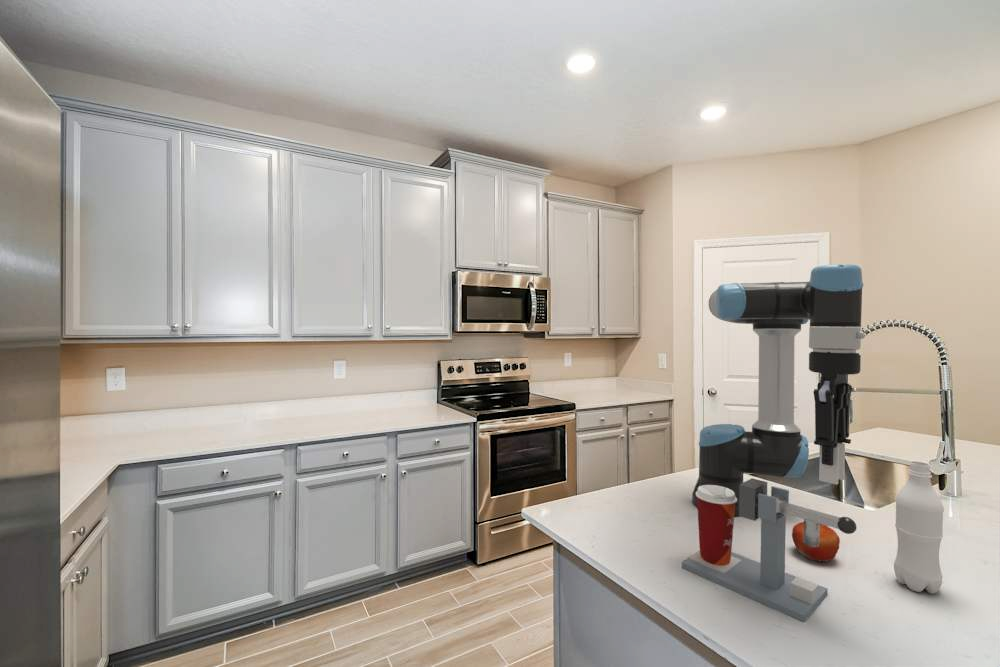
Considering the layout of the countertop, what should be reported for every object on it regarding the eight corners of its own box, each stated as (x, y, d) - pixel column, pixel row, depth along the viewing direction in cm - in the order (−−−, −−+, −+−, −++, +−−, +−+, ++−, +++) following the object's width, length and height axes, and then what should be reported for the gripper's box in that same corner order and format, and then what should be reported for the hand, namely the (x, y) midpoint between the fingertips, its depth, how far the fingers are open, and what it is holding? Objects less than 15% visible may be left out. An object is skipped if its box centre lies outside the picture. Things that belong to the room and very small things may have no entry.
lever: (738, 526, 92) (739, 484, 92) (751, 518, 96) (751, 478, 96) (850, 564, 78) (851, 514, 78) (860, 553, 81) (861, 505, 81)
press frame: (681, 567, 98) (683, 478, 98) (710, 549, 106) (711, 466, 106) (804, 622, 80) (806, 512, 80) (827, 594, 88) (829, 495, 88)
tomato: (826, 571, 97) (826, 534, 97) (782, 551, 105) (783, 517, 105) (849, 560, 101) (849, 525, 101) (805, 543, 109) (806, 510, 109)
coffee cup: (741, 570, 94) (742, 498, 94) (699, 565, 96) (700, 495, 95) (729, 550, 102) (730, 484, 102) (690, 546, 104) (691, 482, 104)
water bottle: (884, 577, 94) (886, 458, 94) (915, 575, 95) (918, 457, 95) (918, 598, 87) (921, 469, 87) (952, 596, 88) (955, 468, 87)
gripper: (846, 353, 74) (844, 496, 74) (871, 350, 84) (869, 476, 84) (794, 351, 80) (792, 483, 80) (823, 348, 90) (821, 466, 90)
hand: (831, 479), depth 82 cm, fingers open, 3 cm apart
